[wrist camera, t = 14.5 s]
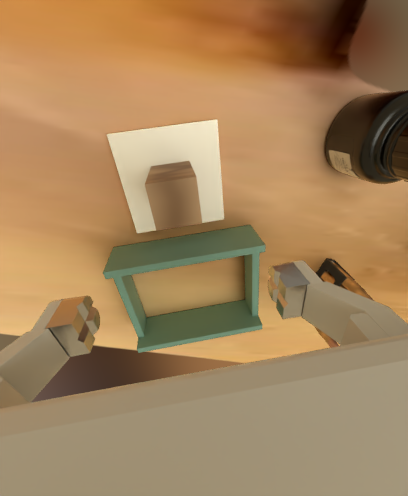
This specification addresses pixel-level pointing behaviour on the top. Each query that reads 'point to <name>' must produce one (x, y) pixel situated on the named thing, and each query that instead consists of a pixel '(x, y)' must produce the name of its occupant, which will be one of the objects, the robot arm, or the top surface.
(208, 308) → the box
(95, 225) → the top surface
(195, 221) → the walnut block
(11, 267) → the top surface
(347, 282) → the ammunition clip
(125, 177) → the board
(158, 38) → the top surface
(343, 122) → the ink bottle
